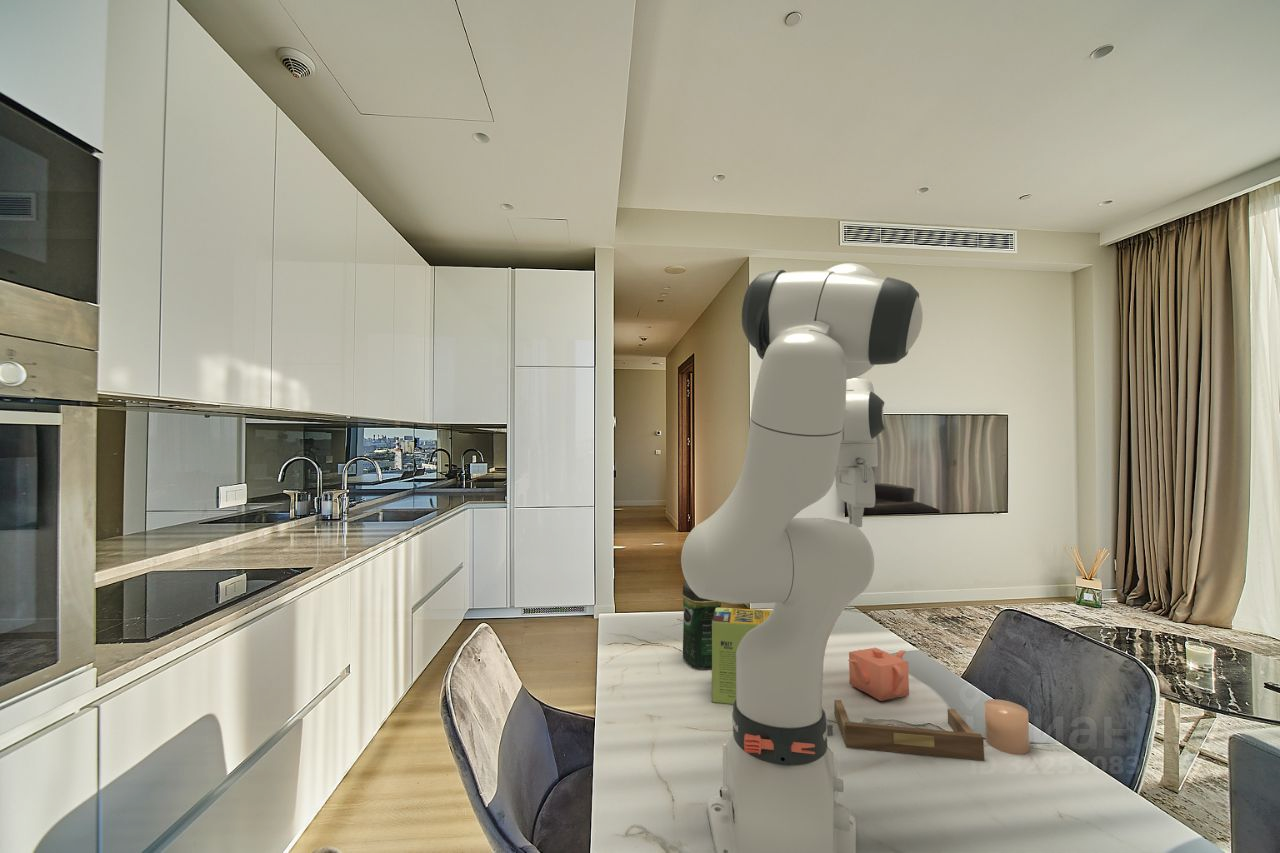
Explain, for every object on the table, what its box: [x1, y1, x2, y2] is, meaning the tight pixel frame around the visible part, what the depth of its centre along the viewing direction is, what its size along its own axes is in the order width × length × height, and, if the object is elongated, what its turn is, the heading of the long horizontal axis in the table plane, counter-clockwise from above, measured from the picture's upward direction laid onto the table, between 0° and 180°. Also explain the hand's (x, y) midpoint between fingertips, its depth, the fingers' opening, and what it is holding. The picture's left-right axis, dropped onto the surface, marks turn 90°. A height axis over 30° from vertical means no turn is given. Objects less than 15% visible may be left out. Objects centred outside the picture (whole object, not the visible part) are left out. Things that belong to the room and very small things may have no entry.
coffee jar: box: [682, 581, 722, 670], centre depth 125 cm, size 10×8×19 cm
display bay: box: [833, 699, 985, 762], centre depth 92 cm, size 12×20×4 cm, turn 79°
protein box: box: [711, 607, 773, 705], centre depth 108 cm, size 10×15×16 cm
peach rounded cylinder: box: [983, 698, 1031, 756], centre depth 90 cm, size 6×6×6 cm
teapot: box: [847, 647, 910, 702], centre depth 109 cm, size 12×15×8 cm
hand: (855, 526), depth 111 cm, fingers closed
